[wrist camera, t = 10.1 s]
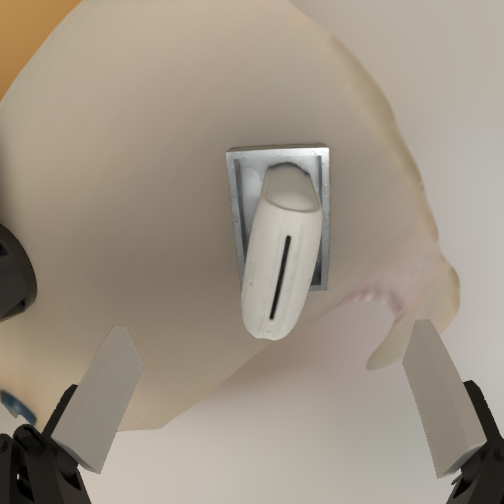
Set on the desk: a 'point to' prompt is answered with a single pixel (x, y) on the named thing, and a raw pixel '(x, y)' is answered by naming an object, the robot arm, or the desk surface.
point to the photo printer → (281, 252)
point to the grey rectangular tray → (249, 189)
